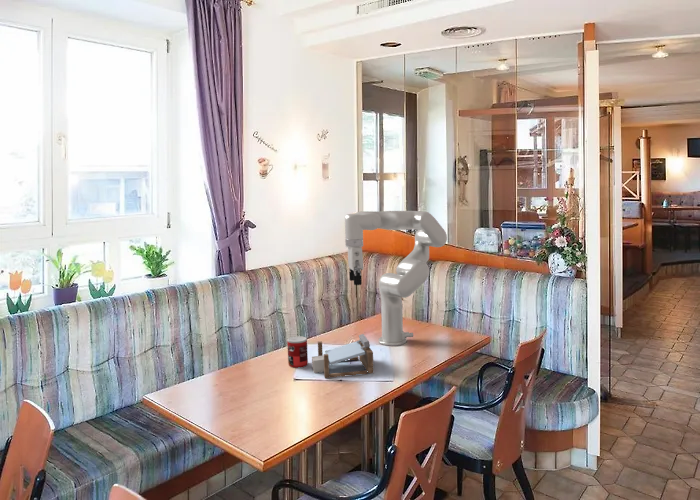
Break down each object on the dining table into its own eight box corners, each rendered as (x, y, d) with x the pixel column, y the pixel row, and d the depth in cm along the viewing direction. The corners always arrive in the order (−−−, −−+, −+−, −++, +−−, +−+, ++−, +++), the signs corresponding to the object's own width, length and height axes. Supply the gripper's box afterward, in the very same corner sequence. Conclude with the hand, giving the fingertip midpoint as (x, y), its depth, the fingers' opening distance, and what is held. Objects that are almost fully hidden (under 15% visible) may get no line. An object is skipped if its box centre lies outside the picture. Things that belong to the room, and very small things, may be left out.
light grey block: (326, 355, 233) (311, 356, 232) (328, 359, 228) (313, 360, 227) (327, 367, 233) (312, 368, 232) (329, 371, 229) (314, 373, 228)
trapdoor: (364, 341, 239) (362, 332, 239) (372, 351, 226) (369, 342, 225) (325, 353, 237) (323, 344, 236) (330, 364, 223) (328, 355, 223)
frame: (363, 358, 243) (363, 337, 241) (373, 373, 225) (373, 351, 224) (318, 362, 239) (317, 341, 238) (325, 378, 221) (324, 355, 220)
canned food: (288, 362, 241) (287, 336, 239) (307, 361, 242) (306, 335, 240) (288, 368, 233) (286, 342, 232) (308, 367, 234) (307, 341, 232)
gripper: (367, 245, 238) (368, 286, 241) (358, 240, 255) (359, 278, 258) (349, 246, 237) (350, 287, 240) (342, 241, 254) (343, 279, 256)
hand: (355, 282), depth 249 cm, fingers open, 9 cm apart
